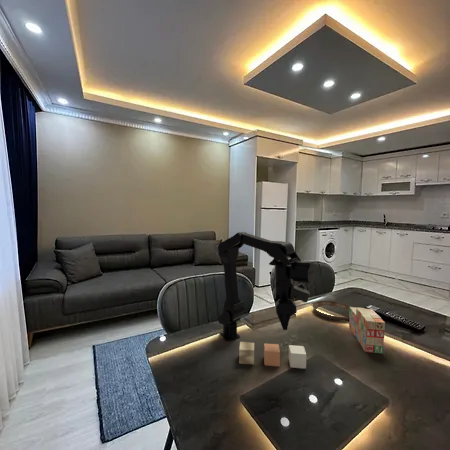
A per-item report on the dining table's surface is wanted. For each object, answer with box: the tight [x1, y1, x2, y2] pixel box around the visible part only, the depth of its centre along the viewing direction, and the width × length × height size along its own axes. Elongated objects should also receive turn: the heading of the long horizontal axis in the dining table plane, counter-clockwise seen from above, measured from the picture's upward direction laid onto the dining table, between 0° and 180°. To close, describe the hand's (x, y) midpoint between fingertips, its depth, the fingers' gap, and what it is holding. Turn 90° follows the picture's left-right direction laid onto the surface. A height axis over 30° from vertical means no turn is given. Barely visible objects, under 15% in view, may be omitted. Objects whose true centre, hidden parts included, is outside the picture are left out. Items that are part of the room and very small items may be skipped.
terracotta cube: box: [263, 343, 281, 367], centre depth 87 cm, size 5×5×5 cm
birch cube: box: [238, 341, 255, 366], centre depth 88 cm, size 5×5×5 cm
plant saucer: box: [311, 300, 352, 321], centre depth 129 cm, size 21×21×3 cm
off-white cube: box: [288, 344, 307, 369], centre depth 86 cm, size 5×5×5 cm
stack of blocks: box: [348, 306, 386, 355], centre depth 103 cm, size 21×6×12 cm, turn 169°
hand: (283, 324), depth 87 cm, fingers open, 9 cm apart
